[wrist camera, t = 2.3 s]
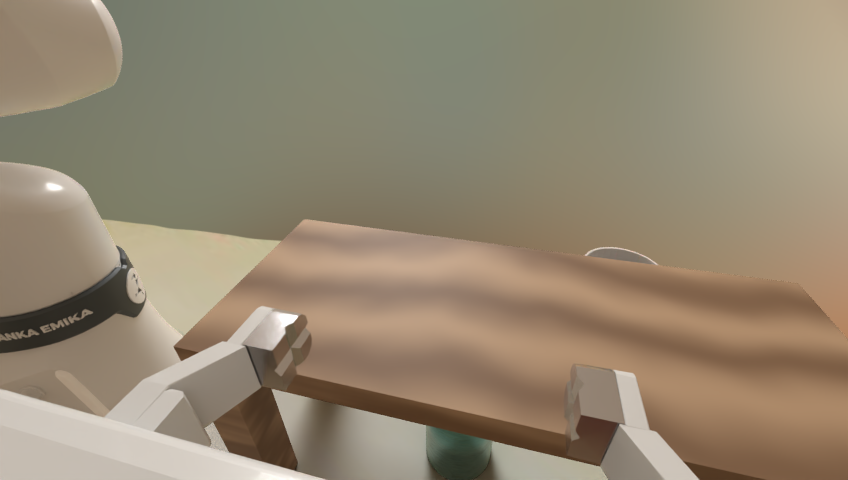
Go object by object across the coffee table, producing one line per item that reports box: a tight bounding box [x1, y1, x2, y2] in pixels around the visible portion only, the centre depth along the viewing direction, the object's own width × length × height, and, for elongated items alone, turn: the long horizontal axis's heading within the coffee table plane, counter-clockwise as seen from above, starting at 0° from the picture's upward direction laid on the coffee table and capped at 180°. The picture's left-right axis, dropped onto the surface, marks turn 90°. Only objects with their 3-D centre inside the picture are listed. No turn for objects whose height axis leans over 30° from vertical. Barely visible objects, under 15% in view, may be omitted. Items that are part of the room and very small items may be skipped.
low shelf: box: [173, 219, 848, 480], centre depth 30 cm, size 16×40×18 cm, turn 76°
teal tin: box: [426, 425, 492, 480], centre depth 33 cm, size 6×6×11 cm
